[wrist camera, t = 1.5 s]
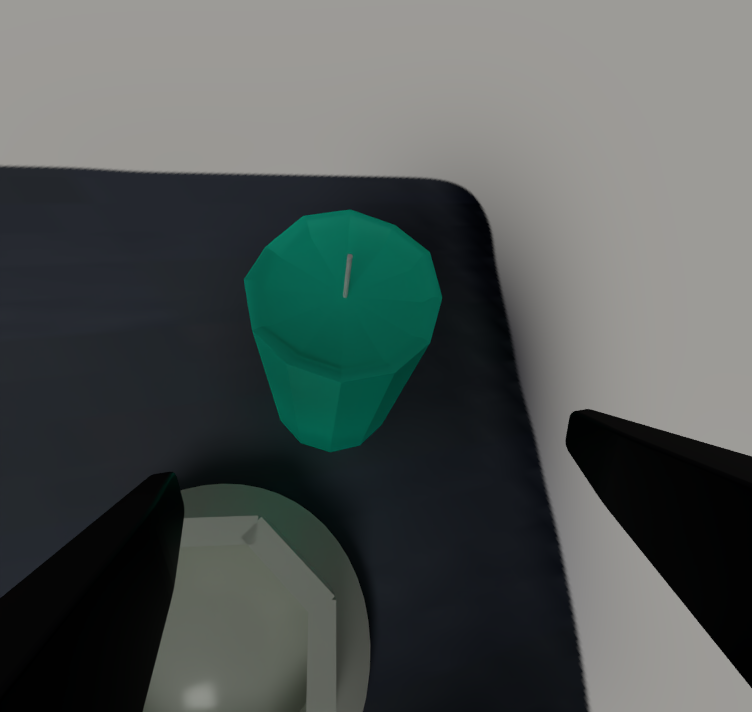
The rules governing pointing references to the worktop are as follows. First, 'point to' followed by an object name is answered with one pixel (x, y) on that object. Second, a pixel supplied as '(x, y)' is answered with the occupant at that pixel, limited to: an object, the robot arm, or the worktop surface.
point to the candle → (340, 322)
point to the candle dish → (260, 611)
